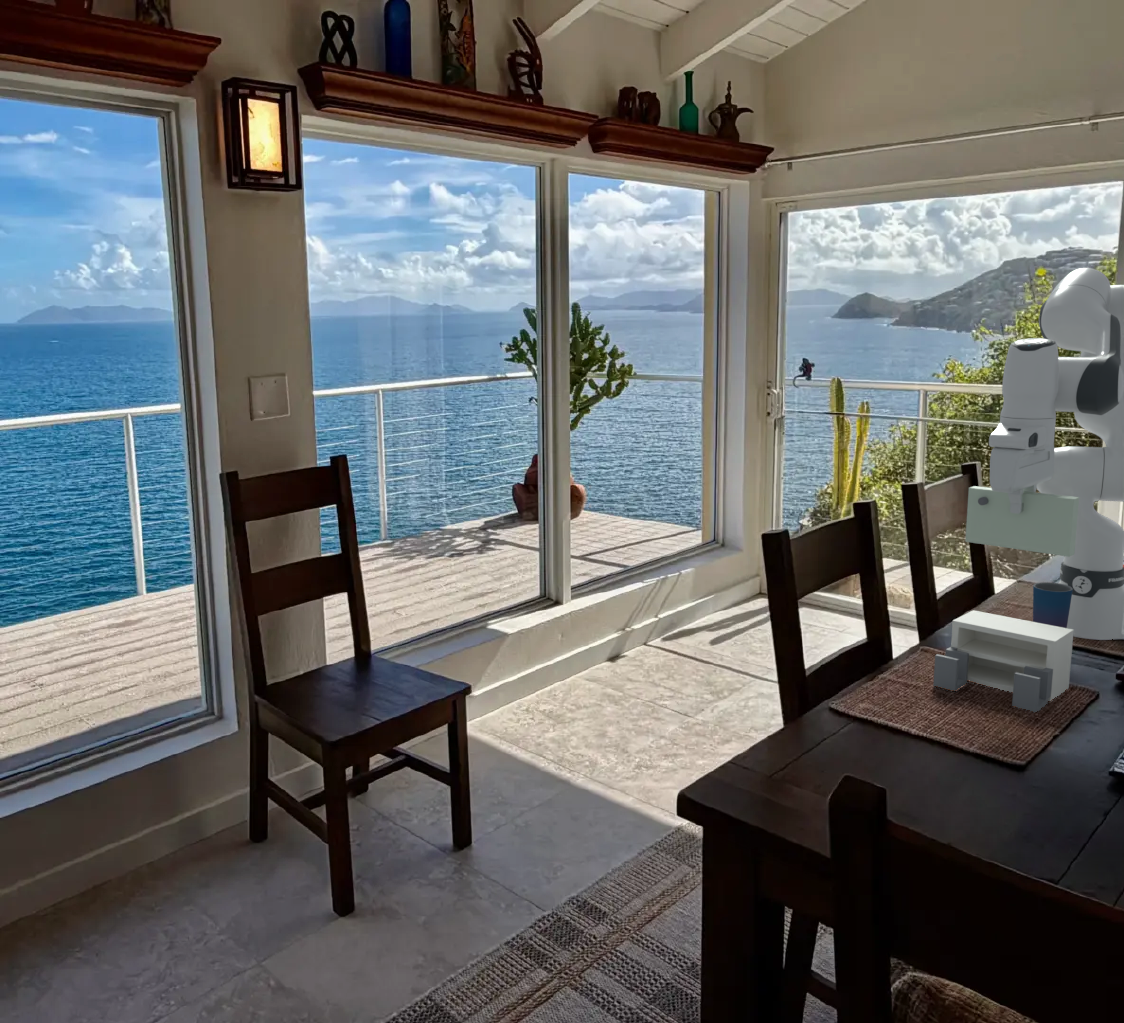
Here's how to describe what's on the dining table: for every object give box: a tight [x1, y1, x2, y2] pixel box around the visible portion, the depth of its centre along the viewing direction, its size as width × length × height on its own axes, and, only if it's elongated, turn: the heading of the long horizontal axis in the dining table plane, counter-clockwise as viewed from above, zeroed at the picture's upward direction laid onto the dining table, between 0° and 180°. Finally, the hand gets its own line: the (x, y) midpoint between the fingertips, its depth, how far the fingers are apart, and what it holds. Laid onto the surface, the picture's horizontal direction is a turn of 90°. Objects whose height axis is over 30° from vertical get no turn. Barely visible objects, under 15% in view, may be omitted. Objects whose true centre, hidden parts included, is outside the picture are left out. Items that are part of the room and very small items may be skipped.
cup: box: [1032, 581, 1073, 628], centre depth 195 cm, size 7×7×15 cm
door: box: [964, 485, 1079, 557], centre depth 179 cm, size 4×18×10 cm, turn 45°
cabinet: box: [932, 609, 1074, 713], centre depth 182 cm, size 16×18×11 cm
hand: (1020, 511), depth 179 cm, fingers closed on door, 2 cm apart
